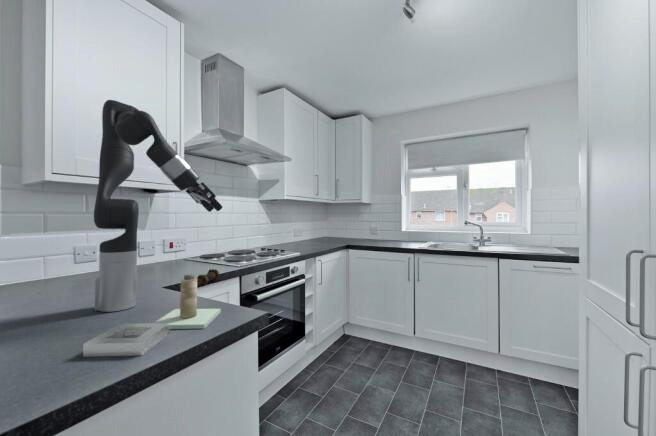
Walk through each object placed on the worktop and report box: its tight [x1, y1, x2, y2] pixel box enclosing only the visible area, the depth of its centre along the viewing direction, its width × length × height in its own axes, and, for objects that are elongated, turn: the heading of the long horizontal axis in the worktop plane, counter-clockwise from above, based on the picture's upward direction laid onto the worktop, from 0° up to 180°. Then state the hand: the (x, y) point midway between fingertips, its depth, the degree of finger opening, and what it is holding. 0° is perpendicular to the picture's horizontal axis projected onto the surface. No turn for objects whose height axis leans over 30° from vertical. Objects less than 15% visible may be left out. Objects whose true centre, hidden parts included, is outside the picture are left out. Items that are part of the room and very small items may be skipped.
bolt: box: [196, 268, 221, 287], centre depth 122 cm, size 6×5×15 cm
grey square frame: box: [82, 322, 170, 358], centre depth 61 cm, size 11×11×2 cm
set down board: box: [153, 308, 222, 330], centre depth 76 cm, size 13×13×1 cm
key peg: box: [179, 274, 198, 319], centre depth 76 cm, size 4×4×11 cm
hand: (215, 209), depth 98 cm, fingers open, 8 cm apart
